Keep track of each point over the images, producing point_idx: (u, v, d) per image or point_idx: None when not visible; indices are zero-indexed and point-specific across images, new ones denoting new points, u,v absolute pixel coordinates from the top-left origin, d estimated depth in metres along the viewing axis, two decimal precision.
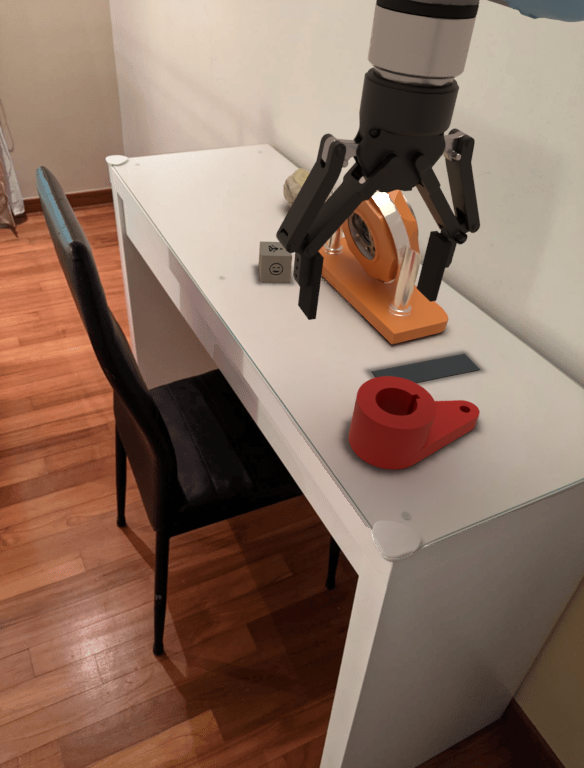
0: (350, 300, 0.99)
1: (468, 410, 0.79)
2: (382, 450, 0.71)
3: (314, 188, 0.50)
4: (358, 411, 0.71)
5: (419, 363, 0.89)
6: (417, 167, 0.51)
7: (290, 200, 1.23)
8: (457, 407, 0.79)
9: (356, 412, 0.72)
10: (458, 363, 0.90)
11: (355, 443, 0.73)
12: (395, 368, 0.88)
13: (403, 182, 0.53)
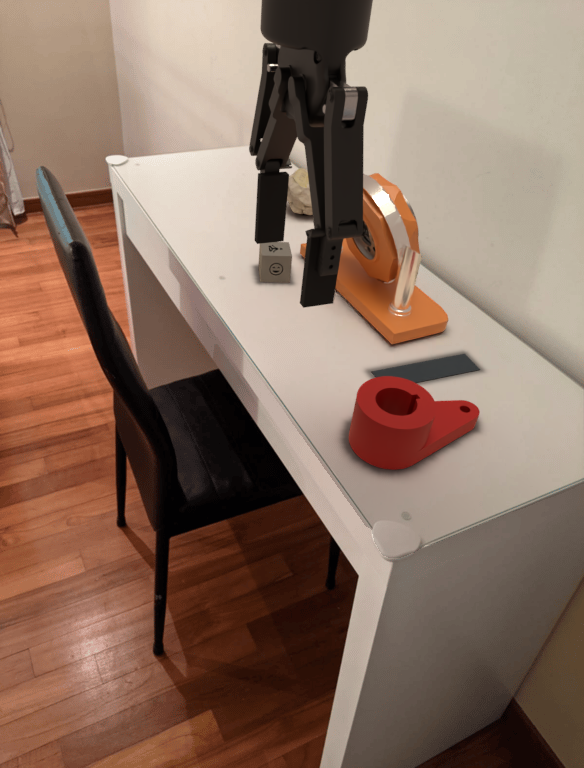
0: (350, 300, 0.99)
1: (468, 410, 0.79)
2: (382, 450, 0.71)
3: (356, 153, 0.42)
4: (358, 411, 0.71)
5: (419, 363, 0.89)
6: None
7: (290, 200, 1.23)
8: (457, 407, 0.79)
9: (356, 412, 0.72)
10: (458, 363, 0.90)
11: (355, 443, 0.73)
12: (395, 368, 0.88)
13: None
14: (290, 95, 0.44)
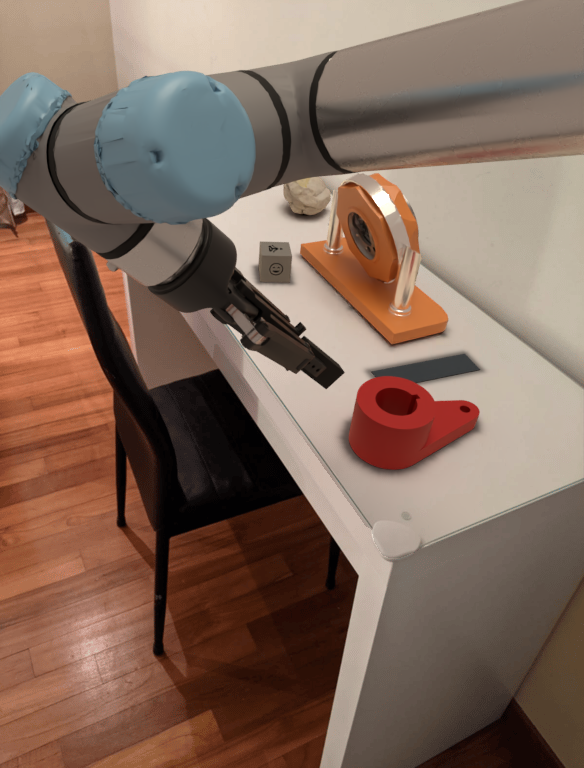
0: (350, 300, 0.99)
1: (468, 410, 0.79)
2: (382, 450, 0.71)
3: (282, 343, 0.53)
4: (358, 411, 0.71)
5: (419, 363, 0.89)
6: (241, 274, 0.54)
7: (290, 200, 1.23)
8: (457, 406, 0.79)
9: (356, 412, 0.72)
10: (458, 363, 0.90)
11: (355, 443, 0.73)
12: (395, 368, 0.88)
13: None
14: None
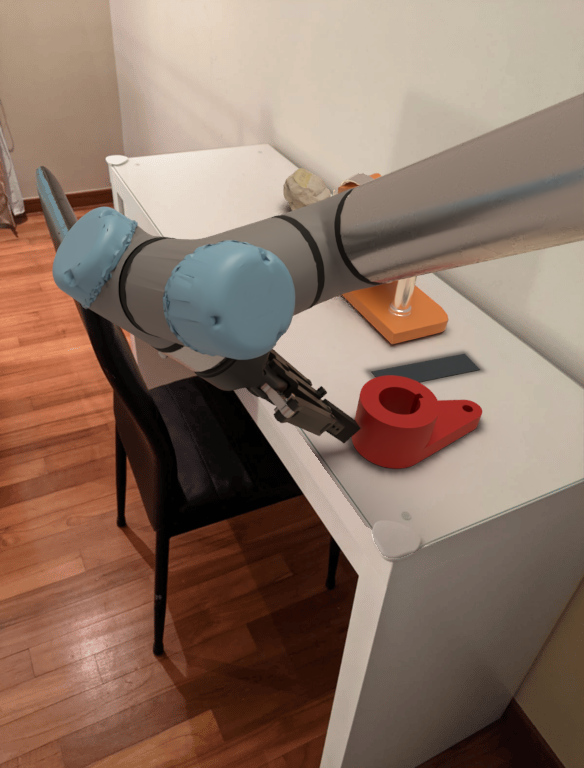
0: (350, 300, 0.99)
1: (470, 409, 0.79)
2: (385, 449, 0.71)
3: (309, 413, 0.60)
4: (361, 410, 0.71)
5: (419, 363, 0.89)
6: (272, 352, 0.61)
7: (290, 200, 1.23)
8: (459, 406, 0.79)
9: (359, 411, 0.72)
10: (458, 363, 0.90)
11: (358, 442, 0.74)
12: (395, 368, 0.88)
13: None
14: None
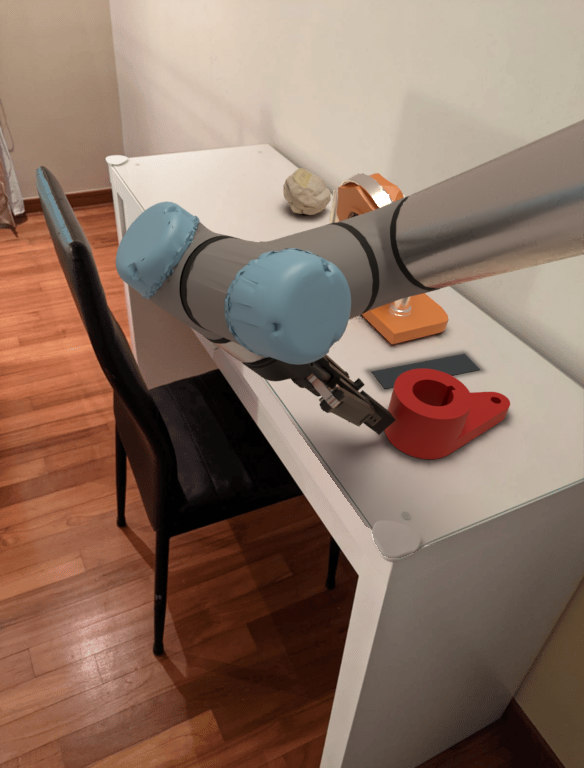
0: None
1: (498, 401, 0.81)
2: (420, 440, 0.73)
3: (352, 404, 0.62)
4: (396, 403, 0.73)
5: (419, 363, 0.89)
6: None
7: (290, 200, 1.23)
8: (488, 398, 0.81)
9: (394, 403, 0.74)
10: (458, 363, 0.90)
11: (392, 434, 0.75)
12: (395, 368, 0.88)
13: None
14: None
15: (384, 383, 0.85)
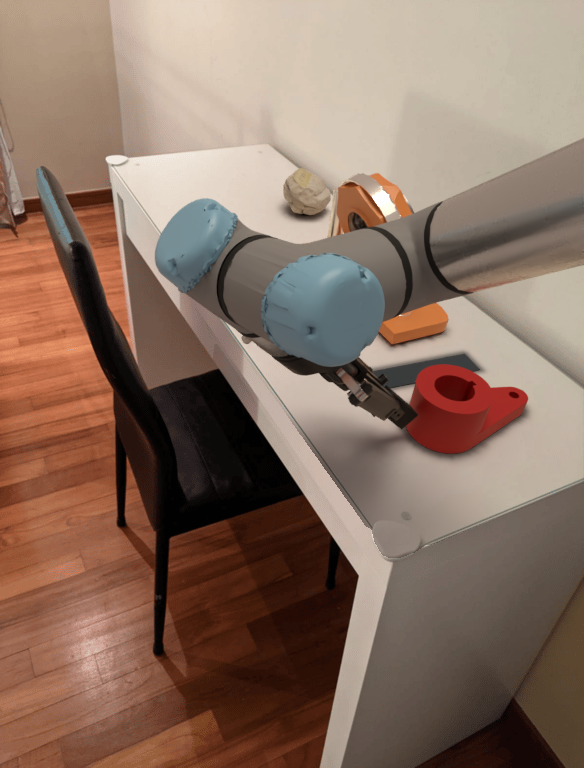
0: None
1: (516, 395, 0.82)
2: (443, 435, 0.74)
3: (379, 398, 0.63)
4: (418, 398, 0.74)
5: (419, 363, 0.89)
6: None
7: (290, 200, 1.23)
8: (506, 393, 0.82)
9: (416, 399, 0.75)
10: (458, 363, 0.90)
11: (414, 429, 0.76)
12: (395, 368, 0.88)
13: None
14: None
15: None
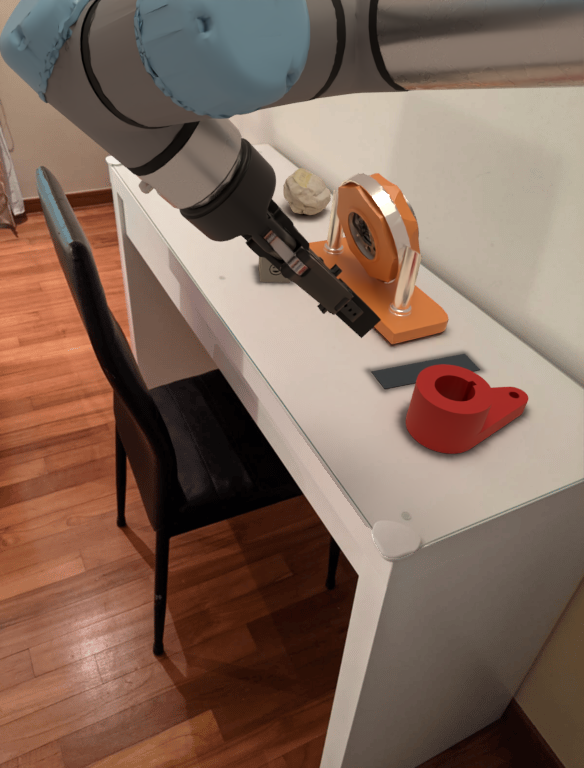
0: None
1: (516, 395, 0.82)
2: (443, 435, 0.74)
3: (322, 276, 0.50)
4: (419, 398, 0.74)
5: (419, 363, 0.89)
6: (277, 205, 0.51)
7: (290, 200, 1.23)
8: (506, 393, 0.82)
9: (416, 399, 0.75)
10: (458, 363, 0.90)
11: (414, 429, 0.76)
12: (395, 368, 0.88)
13: None
14: None
15: (384, 383, 0.85)
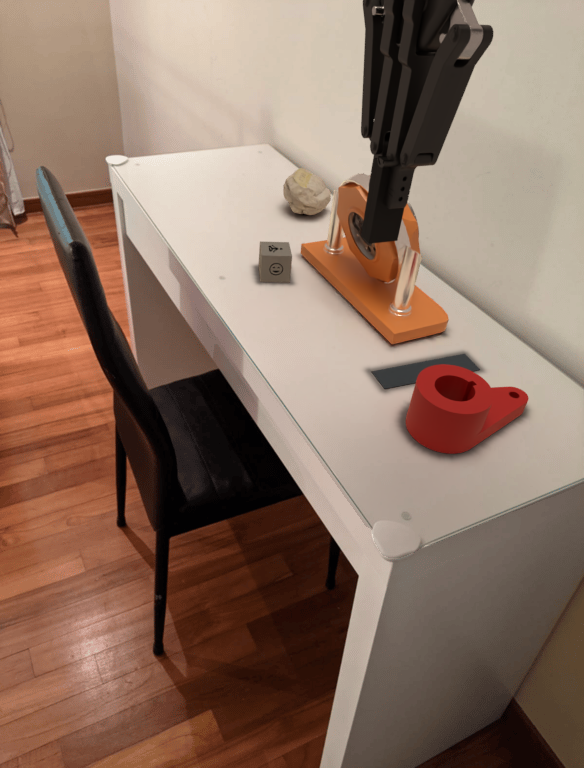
0: (351, 300, 0.99)
1: (516, 395, 0.82)
2: (443, 435, 0.74)
3: (457, 92, 0.40)
4: (419, 398, 0.74)
5: (419, 363, 0.89)
6: None
7: (290, 200, 1.23)
8: (506, 393, 0.82)
9: (416, 399, 0.75)
10: (458, 363, 0.90)
11: (414, 429, 0.76)
12: (395, 368, 0.88)
13: None
14: (405, 9, 0.39)
15: (384, 383, 0.85)
